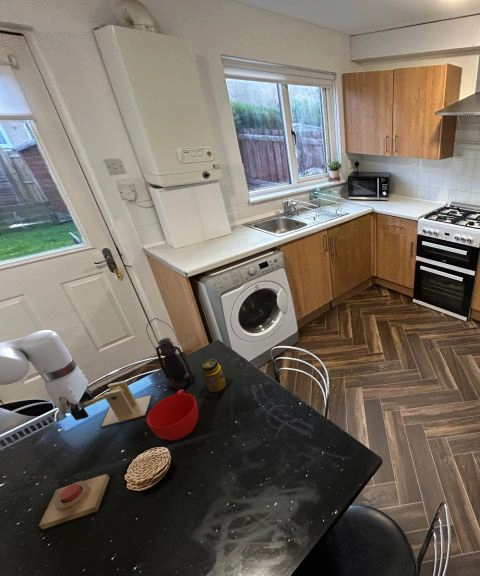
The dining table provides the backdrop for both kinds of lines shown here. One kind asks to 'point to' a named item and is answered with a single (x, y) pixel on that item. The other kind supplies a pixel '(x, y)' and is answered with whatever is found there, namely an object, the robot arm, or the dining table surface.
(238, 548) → the dining table surface
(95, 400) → the lever
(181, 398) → the ceramic cup
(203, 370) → the condiment
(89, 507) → the button block
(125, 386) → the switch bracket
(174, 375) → the lantern
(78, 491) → the button
